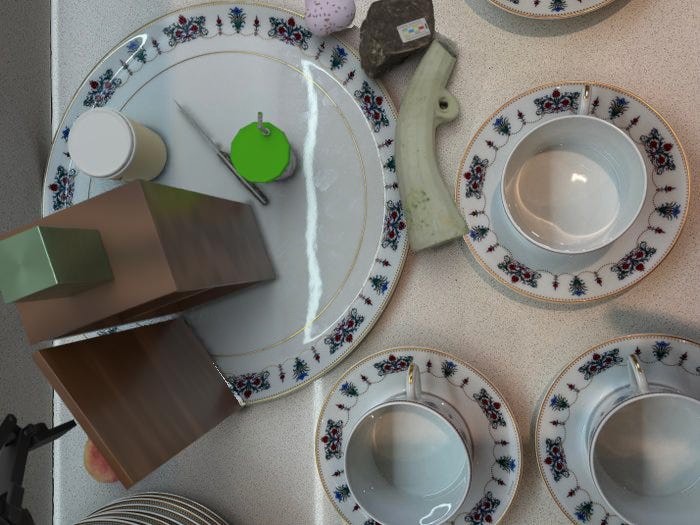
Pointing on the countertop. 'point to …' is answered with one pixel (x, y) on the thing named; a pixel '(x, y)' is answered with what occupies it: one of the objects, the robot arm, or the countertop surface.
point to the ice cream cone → (328, 15)
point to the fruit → (97, 465)
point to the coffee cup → (115, 147)
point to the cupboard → (152, 258)
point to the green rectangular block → (51, 264)
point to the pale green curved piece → (427, 153)
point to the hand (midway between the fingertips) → (100, 483)
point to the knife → (230, 164)
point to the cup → (262, 153)
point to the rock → (394, 33)
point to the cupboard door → (140, 393)
